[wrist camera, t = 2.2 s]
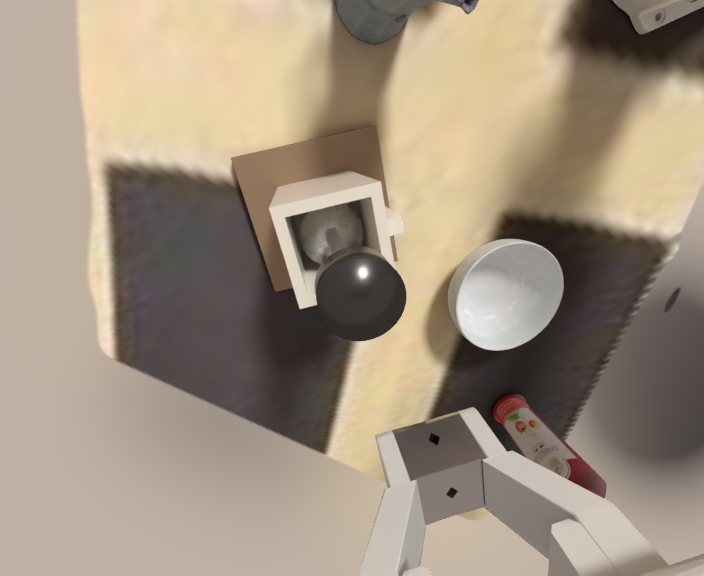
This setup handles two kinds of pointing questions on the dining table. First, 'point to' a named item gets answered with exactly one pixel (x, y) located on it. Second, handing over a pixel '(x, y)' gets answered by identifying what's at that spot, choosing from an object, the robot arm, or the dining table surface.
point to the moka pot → (384, 16)
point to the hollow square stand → (315, 200)
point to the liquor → (544, 444)
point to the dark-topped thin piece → (350, 276)
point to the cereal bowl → (505, 293)
